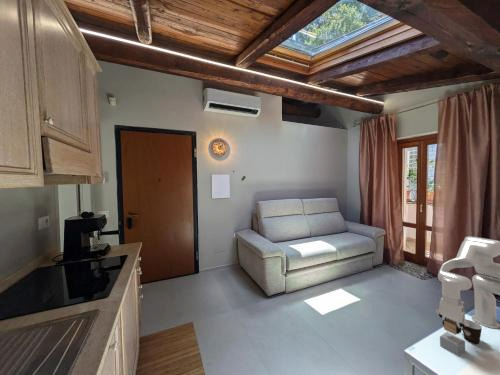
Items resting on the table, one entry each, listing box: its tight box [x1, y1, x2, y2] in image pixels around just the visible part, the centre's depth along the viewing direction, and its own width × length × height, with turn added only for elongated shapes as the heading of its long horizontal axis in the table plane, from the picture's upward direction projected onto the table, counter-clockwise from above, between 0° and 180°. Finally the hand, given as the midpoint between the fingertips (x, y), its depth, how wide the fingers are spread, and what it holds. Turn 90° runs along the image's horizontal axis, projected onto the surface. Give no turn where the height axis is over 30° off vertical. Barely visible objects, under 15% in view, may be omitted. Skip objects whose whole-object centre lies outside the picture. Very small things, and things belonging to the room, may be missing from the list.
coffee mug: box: [455, 319, 483, 345], centre depth 125 cm, size 12×9×10 cm
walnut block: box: [443, 318, 458, 336], centre depth 118 cm, size 5×5×5 cm
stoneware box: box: [439, 331, 466, 357], centre depth 119 cm, size 8×8×6 cm
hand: (451, 329), depth 118 cm, fingers closed on walnut block, 5 cm apart
